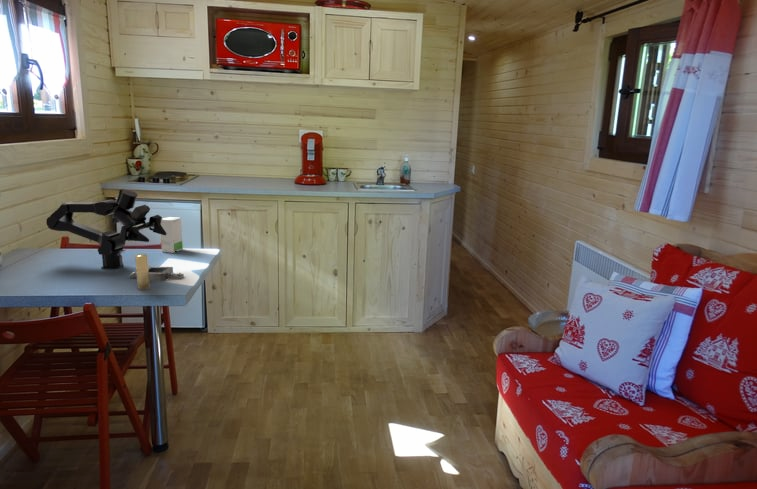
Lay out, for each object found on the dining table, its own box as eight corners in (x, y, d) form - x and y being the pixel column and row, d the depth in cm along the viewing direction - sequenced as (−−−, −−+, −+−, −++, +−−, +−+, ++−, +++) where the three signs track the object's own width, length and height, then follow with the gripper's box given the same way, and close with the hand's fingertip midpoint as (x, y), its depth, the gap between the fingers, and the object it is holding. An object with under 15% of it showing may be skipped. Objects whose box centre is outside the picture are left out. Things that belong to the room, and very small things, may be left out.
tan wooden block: (136, 289, 188) (133, 256, 185) (140, 286, 192) (137, 254, 189) (147, 289, 188) (144, 257, 185) (151, 286, 192) (148, 254, 189)
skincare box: (173, 253, 237) (171, 220, 233) (160, 252, 238) (158, 219, 235) (183, 249, 245) (181, 217, 241) (171, 247, 246) (169, 216, 243)
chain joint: (126, 280, 197) (125, 273, 197) (136, 273, 207) (135, 266, 206) (178, 281, 198) (178, 274, 198) (186, 274, 208) (185, 267, 207)
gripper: (111, 206, 195) (143, 226, 192) (149, 196, 212) (178, 214, 209) (107, 231, 200) (137, 251, 197) (144, 219, 216) (173, 237, 213)
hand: (157, 237), depth 204 cm, fingers open, 9 cm apart
